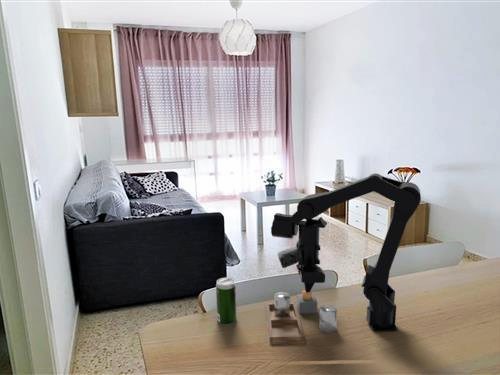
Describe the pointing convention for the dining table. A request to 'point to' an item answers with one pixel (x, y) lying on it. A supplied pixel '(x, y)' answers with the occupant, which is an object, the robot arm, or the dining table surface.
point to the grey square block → (306, 304)
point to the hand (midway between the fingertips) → (307, 292)
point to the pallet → (284, 326)
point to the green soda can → (226, 301)
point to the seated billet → (282, 304)
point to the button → (306, 295)
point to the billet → (328, 318)
